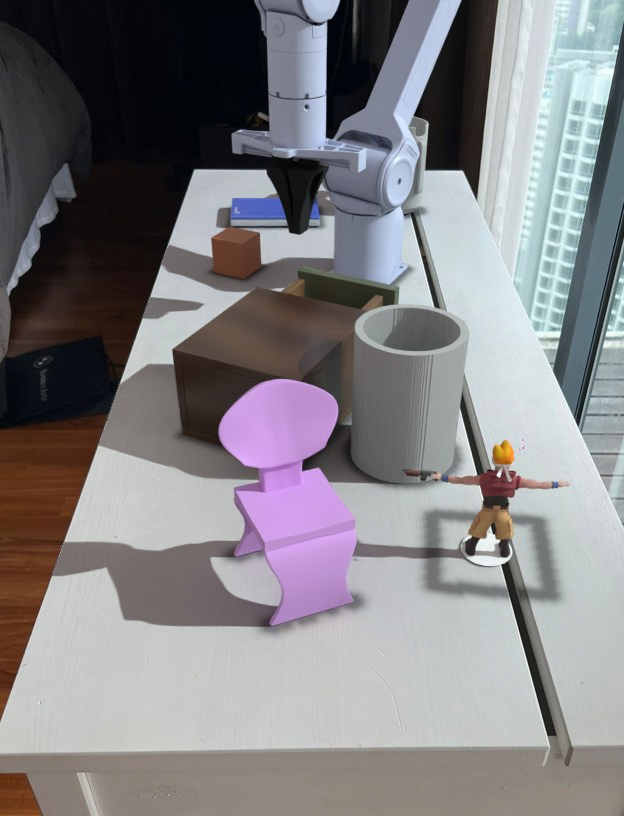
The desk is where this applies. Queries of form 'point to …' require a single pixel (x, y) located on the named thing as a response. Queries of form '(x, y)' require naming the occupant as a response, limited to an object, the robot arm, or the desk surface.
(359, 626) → the desk surface
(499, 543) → the action figure
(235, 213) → the blue book
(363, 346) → the cup
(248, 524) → the toy chair
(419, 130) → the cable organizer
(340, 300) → the drawer
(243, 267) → the block
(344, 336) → the cabinet
